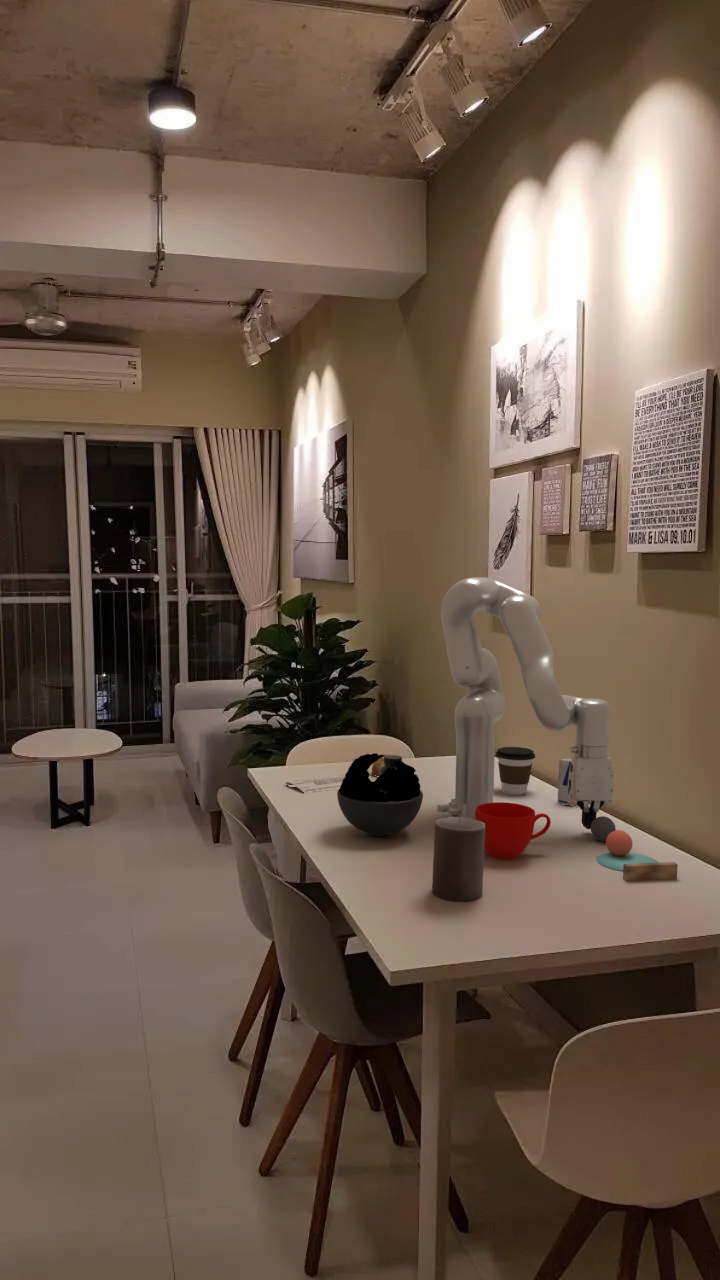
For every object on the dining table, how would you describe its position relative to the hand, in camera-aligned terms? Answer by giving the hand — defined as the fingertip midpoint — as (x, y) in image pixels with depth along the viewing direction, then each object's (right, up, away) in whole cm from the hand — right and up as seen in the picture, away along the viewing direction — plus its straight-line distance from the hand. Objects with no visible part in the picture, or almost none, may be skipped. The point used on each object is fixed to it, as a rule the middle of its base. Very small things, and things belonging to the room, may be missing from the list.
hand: (588, 827), depth 215 cm
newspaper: (-64, +2, +44) cm, 78 cm away
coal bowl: (-50, -1, -3) cm, 50 cm away
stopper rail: (+5, -4, -30) cm, 31 cm away
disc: (+3, -3, -21) cm, 21 cm away
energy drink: (+1, 0, +27) cm, 27 cm away
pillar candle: (-35, -5, -40) cm, 54 cm away
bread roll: (-46, +4, +58) cm, 74 cm away
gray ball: (+2, +1, -5) cm, 6 cm away
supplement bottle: (-46, +1, +27) cm, 53 cm away
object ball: (+3, 0, -16) cm, 16 cm away
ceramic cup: (-21, -3, -16) cm, 27 cm away
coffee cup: (-11, +2, +38) cm, 40 cm away
